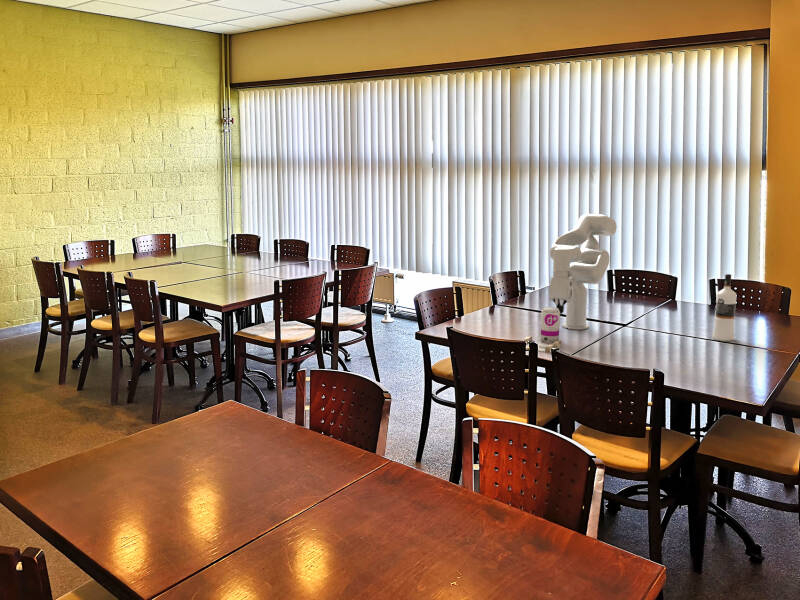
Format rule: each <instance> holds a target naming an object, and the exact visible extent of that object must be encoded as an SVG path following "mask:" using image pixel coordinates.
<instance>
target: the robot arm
mask: <svg viewBox="0 0 800 600" xmlns="http://www.w3.org/2000/svg"><path fill="white" fill-rule="evenodd" d="M576 221H577V222H576V223H575V224H574V226H573V228H572V229H571V230H570V231H568V232H565V233H563V234H562V235H560V236H558V237H557V238H556V239H555V240H554V242H553V243H552V245H551V247H550V250H549V257H550V259H551V260H553V262H552V265H553V267H552V269H553V270H552V276H551V277H550V282H549V287H548V288H549V289H548V300H549V301H551V302H553V303H554V304H555V308H558V309H559V311H560V315H562V314H563V313H564V312H566V313H565V314H566V315H565V322H564V323H562V327H563V328H565V329H567V328H568V329H569V330H579V331H580V330H587V329H589V328H590V324H588V323H587V319H588V318H587V306H588V305H587V302H588V300H587V299H588V290H587V288H586V286H585V284H587V285H589V284H590V285H598V284H600V283H601V282H602V280H603V278H604V276H605V273H606V271H607V269H608V267H609V263H610V254H609V252H608V250H606V249H602V248H601V249H600V244H599V241H598V240H597V238H596V237H595V236H602V237H610V236H611V237H612V236H613V235H615V233H616V232H617V222H616V220H615V219H614V218H612V217H610V216H608V215H605V214H600V213H599V214H597V213H596V214H595V213H594V214H593V213H586V214H582V215H580V217H579V218H578V220H576ZM580 245H581V246H580ZM578 246H580V247H578ZM565 306H566V309H565ZM564 310H566V311H564ZM568 329H567V330H568Z"/></svg>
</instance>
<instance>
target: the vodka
mask: <svg viewBox="0 0 800 600" xmlns="http://www.w3.org/2000/svg"><path fill="white" fill-rule="evenodd" d="M731 282H732V274H731V273H726V274H725V275H724V286H723V288H722V289H721V290H719V291H718V292H717V293H716V300H715V303H716V304H715V316H714V324H713V325H714V326H713V331H712V335H711V337H712V339H713V340H715V339H716V341H718V340H720V341H719V342H732V341H734V340H735V329H734V328H735V319H736V307H737V306H736V303H737V298H738V297H737V293H736V292H735V291H734V290H733V289H731V285H732V284H731Z"/></svg>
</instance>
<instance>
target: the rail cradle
mask: <svg viewBox="0 0 800 600" xmlns="http://www.w3.org/2000/svg"><path fill="white" fill-rule="evenodd" d="M521 340H524V341H526V342H527V343H528V341H529V340H532V341H533V336H532V335H528V336H526V337H524V338H521ZM536 342H537V343H538V345H539V351H538V352H541V353H547V354H549V353H551V352H550V350H551V349H552V348H557V347H558V348H560V347H562V340H560V339H559V340H557V341H555V342H554V343H547V342H543V341H536ZM528 344H529V343H528ZM528 344H526V345H527V349H526V350H528ZM559 346H560V347H559ZM558 348H557V349H558ZM528 351H529V350H528Z"/></svg>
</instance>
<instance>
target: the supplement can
mask: <svg viewBox="0 0 800 600" xmlns="http://www.w3.org/2000/svg"><path fill="white" fill-rule="evenodd" d="M560 323H561V314H560V311H559V309H558V308H556V306H555V307H554V306H545V307H543V308H542V310H541V313H540V340H541V342H543V341H544V342H543V343H547V342H555V341H557V340H560Z"/></svg>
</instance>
